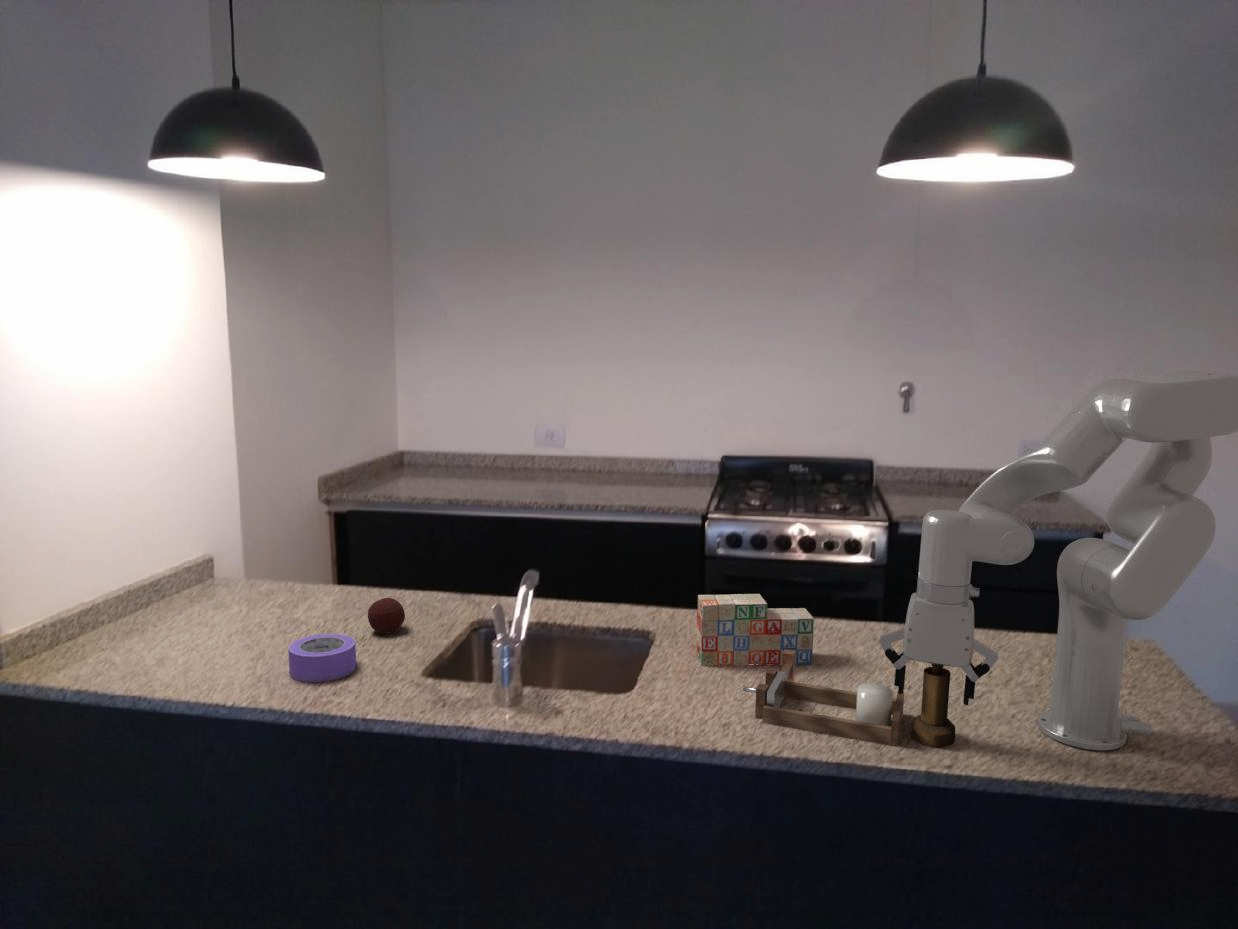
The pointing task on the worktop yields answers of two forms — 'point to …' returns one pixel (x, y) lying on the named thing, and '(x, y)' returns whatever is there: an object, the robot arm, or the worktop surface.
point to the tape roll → (322, 657)
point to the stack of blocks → (750, 631)
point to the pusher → (780, 680)
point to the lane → (821, 721)
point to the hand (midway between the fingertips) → (933, 696)
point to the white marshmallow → (874, 704)
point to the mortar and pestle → (934, 710)
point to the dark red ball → (386, 615)
